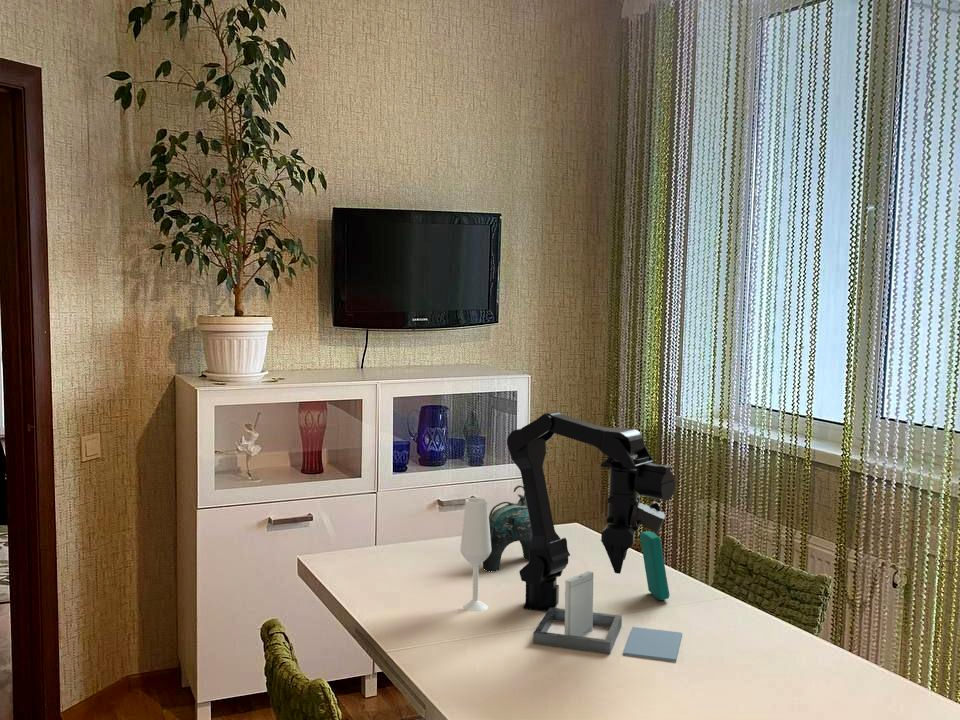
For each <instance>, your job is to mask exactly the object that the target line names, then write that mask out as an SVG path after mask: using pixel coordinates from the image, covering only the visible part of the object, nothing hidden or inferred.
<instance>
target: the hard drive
mask: <svg viewBox="0 0 960 720" xmlns="http://www.w3.org/2000/svg"><path fill="white" fill-rule="evenodd" d="M564 584H565V587H564V588H565V589H564V591H565V592H564V594H565V595H564V609H565V622H564V635H572V636H580V637H585V636H586V635H588V634H589V633H592V632H593V626H594V625H593V612H594V572H593V571H585V572H583V573H579V574H577V575H574V576H572V577H569V578H567V579H565V582H564Z"/></svg>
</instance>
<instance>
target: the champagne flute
mask: <svg viewBox="0 0 960 720" xmlns="http://www.w3.org/2000/svg"><path fill="white" fill-rule="evenodd" d="M463 512H464V514H463V520H462V521H463V523H462V530H461V531H462V532H461V543H460V548H459V549H460V554H461V555H462V557H463V558H464V560H466V561H467V562H468V563H469V564H470V565H472V600H470V601H468V602H466V603H464V604H463V605H462V609H463V610H465V611H469V612H483V611H486V610H488V609H489V606H488V604H485V603H484V602H482V601H480V600H479V566H480V565H481V564H482V565H483V562H484V561H485V560H486V559H487V558H488V557H489V555H490V553H491V538H490V525H489V515H490V512H489V501H488V499H486V498H483V497H468V498H467V499H465V503H464V511H463Z"/></svg>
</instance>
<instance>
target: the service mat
mask: <svg viewBox="0 0 960 720" xmlns="http://www.w3.org/2000/svg"><path fill="white" fill-rule="evenodd" d="M628 636H629V637H628V639H627V641H626V644H625V647H624V649H623V652H622V655H623V656H627V657H635V658H641V659H643V658H644V659H649V660H650V659H651V660H657V661H664V662H665V661H666V662H672V663H677V661H678V655H679V652H680V647H681V642H682V638H683V632H682V631H681V632H680V631H672V630H671V631H670V630H663V629H662V630H661V629H656V628H655V629H653V628H646V627H637V626H633V627H632V628H631V630H630V633H629V635H628Z"/></svg>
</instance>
